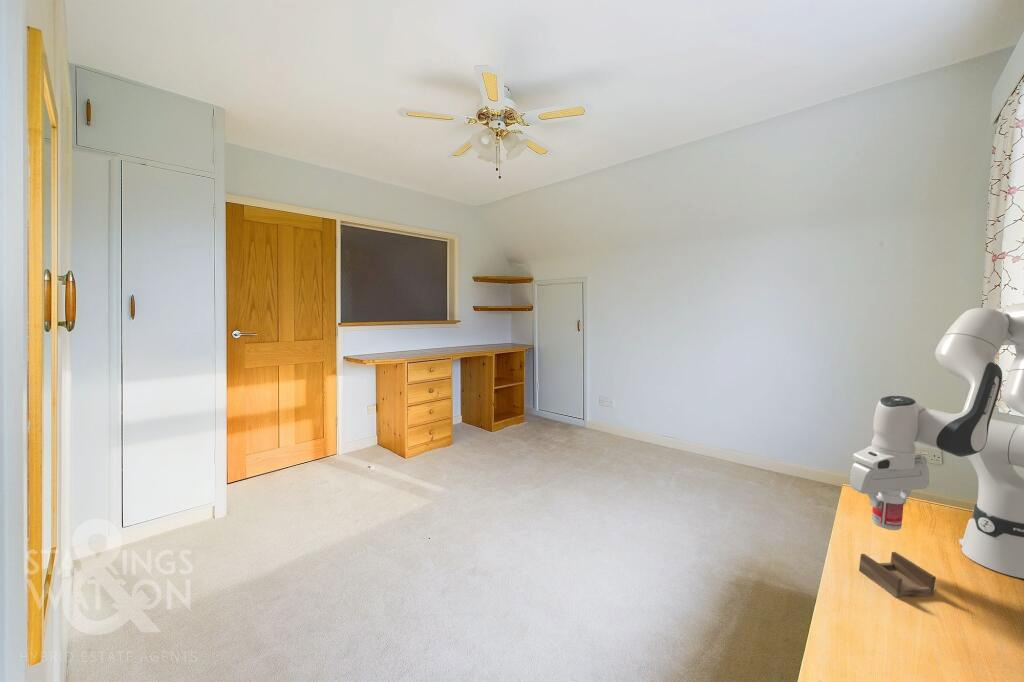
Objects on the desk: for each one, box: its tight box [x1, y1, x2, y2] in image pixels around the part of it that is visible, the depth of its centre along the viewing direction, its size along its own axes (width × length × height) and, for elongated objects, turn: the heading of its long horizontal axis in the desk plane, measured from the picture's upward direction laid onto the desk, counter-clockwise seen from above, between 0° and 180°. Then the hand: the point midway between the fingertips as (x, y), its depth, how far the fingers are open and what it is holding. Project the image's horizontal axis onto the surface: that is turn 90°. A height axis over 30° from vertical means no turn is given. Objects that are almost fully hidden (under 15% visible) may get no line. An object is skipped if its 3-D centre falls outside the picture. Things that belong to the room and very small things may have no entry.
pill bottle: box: [871, 489, 905, 531], centre depth 115 cm, size 6×6×11 cm
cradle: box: [858, 551, 937, 599], centre depth 108 cm, size 10×10×5 cm
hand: (887, 504), depth 115 cm, fingers closed on pill bottle, 6 cm apart
